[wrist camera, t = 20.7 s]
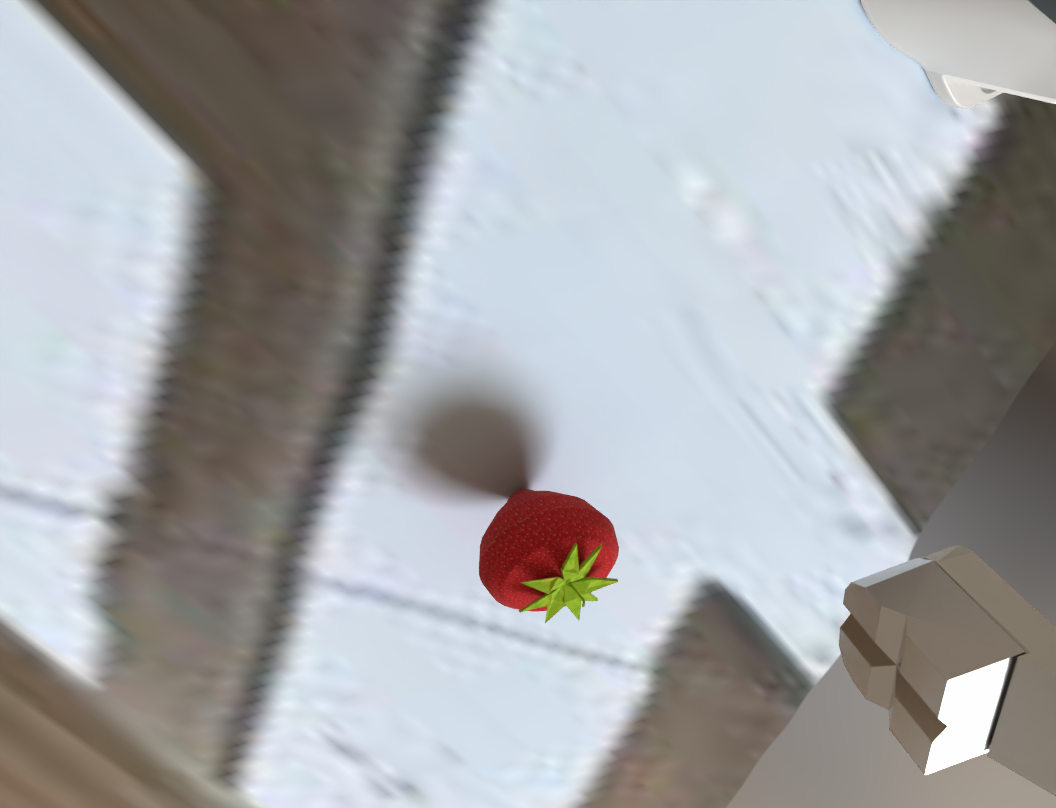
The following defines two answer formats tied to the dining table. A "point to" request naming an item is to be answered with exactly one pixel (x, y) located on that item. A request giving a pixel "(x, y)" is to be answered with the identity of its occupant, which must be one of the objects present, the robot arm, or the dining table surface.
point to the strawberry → (547, 552)
